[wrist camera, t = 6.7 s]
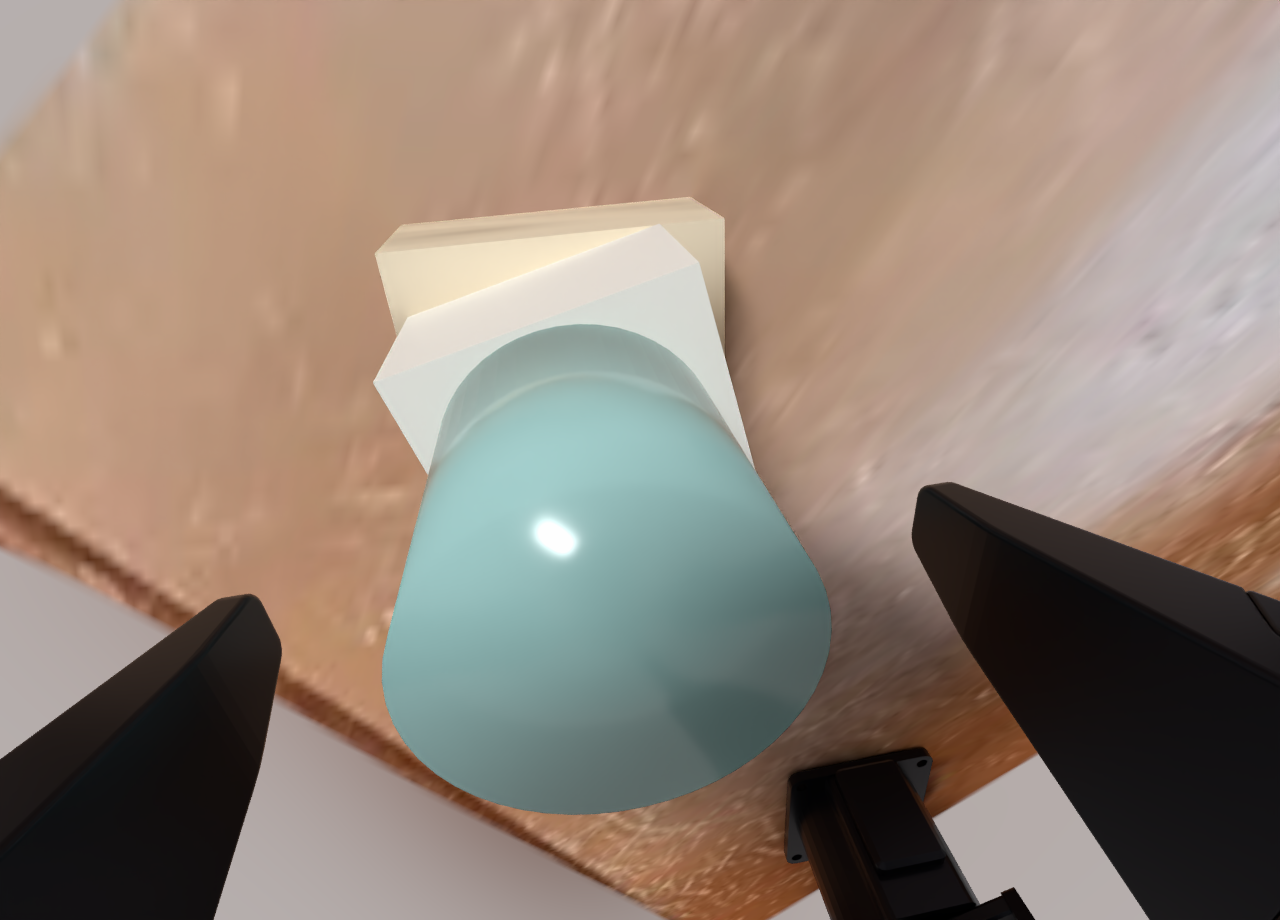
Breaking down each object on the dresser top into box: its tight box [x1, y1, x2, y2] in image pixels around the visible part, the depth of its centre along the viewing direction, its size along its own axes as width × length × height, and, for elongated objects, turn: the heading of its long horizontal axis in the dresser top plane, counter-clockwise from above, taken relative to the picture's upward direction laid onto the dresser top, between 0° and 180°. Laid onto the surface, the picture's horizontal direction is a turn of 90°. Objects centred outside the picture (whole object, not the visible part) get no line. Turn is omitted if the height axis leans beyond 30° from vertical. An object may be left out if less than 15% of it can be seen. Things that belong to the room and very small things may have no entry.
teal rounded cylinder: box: [382, 324, 832, 815], centre depth 9 cm, size 5×5×5 cm
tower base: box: [375, 197, 725, 356], centre depth 16 cm, size 7×7×4 cm
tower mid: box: [373, 224, 755, 474], centre depth 13 cm, size 6×6×4 cm
